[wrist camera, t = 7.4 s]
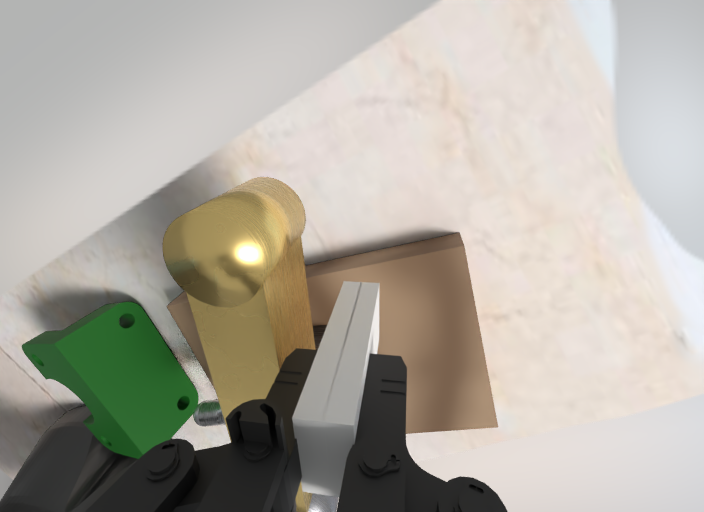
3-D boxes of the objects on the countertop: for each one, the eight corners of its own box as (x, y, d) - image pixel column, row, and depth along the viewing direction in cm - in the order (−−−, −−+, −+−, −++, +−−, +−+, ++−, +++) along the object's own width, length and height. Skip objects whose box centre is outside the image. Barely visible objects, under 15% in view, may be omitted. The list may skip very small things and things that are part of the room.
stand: (256, 424, 31) (247, 444, 29) (183, 291, 25) (166, 306, 24) (491, 403, 25) (498, 427, 24) (459, 232, 20) (464, 245, 19)
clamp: (142, 296, 32) (12, 319, 24) (181, 291, 29) (49, 316, 21) (161, 421, 32) (38, 486, 24) (203, 428, 29) (79, 504, 21)
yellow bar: (347, 480, 18) (332, 572, 15) (277, 471, 19) (246, 558, 16) (317, 175, 12) (276, 210, 8) (210, 178, 12) (128, 212, 9)
